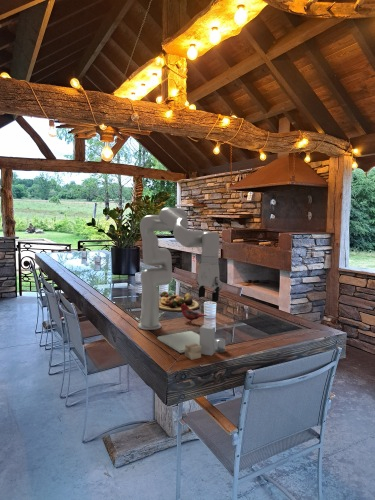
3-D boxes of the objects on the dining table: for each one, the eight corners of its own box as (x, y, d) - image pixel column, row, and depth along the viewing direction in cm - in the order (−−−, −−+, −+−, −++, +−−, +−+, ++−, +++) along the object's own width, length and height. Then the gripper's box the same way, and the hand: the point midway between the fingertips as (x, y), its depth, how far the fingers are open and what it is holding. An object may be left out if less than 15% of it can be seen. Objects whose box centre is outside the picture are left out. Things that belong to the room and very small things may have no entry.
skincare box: (214, 353, 160) (216, 326, 158) (211, 356, 155) (213, 329, 154) (201, 350, 162) (203, 324, 161) (198, 353, 158) (199, 327, 157)
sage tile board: (157, 339, 174) (157, 336, 174) (190, 333, 186) (191, 330, 185) (180, 352, 158) (180, 350, 158) (215, 345, 169) (215, 342, 169)
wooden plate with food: (145, 301, 249) (145, 290, 248) (186, 298, 263) (187, 287, 262) (161, 314, 221) (162, 301, 220) (207, 310, 234) (207, 298, 233)
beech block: (184, 355, 155) (185, 344, 154) (194, 353, 158) (194, 342, 157) (191, 359, 151) (192, 348, 150) (200, 357, 154) (201, 346, 153)
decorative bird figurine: (180, 319, 209) (181, 302, 208) (207, 325, 200) (208, 308, 199) (177, 320, 206) (178, 303, 206) (204, 326, 197) (205, 309, 197)
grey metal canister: (211, 349, 164) (212, 339, 163) (220, 347, 166) (220, 337, 166) (218, 353, 159) (219, 342, 159) (227, 351, 162) (227, 340, 162)
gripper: (191, 258, 161) (190, 296, 162) (215, 262, 146) (213, 303, 148) (204, 258, 165) (203, 294, 166) (229, 262, 150) (227, 302, 152)
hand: (208, 298), depth 157 cm, fingers open, 9 cm apart
